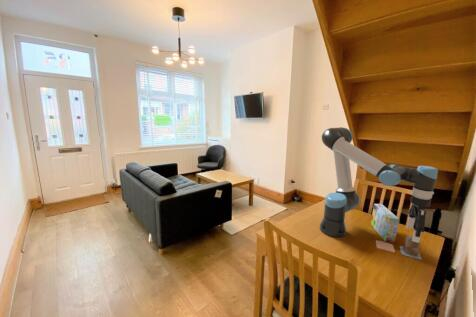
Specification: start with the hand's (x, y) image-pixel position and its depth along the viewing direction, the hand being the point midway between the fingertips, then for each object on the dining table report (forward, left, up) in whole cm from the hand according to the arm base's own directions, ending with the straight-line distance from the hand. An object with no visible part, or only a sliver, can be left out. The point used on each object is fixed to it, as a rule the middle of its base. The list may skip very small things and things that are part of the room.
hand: (412, 234), depth 108 cm
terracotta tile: (-11, 0, -10) cm, 15 cm away
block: (+1, 0, -10) cm, 10 cm away
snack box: (-11, +16, -11) cm, 22 cm away
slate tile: (0, 0, -10) cm, 10 cm away
